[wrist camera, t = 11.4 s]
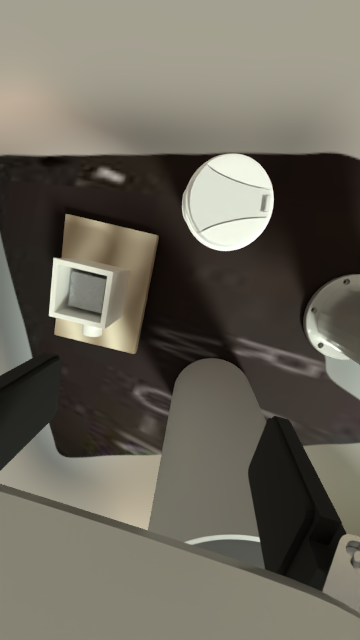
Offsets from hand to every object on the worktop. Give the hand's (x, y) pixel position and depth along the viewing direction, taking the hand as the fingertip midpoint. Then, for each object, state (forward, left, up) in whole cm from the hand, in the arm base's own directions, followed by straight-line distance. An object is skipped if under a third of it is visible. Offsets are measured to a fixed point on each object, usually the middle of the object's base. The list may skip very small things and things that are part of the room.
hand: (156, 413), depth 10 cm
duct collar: (+12, +2, -24) cm, 27 cm away
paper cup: (-2, -12, -26) cm, 29 cm away
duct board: (+12, 0, -26) cm, 29 cm away
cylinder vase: (-8, +13, -26) cm, 30 cm away
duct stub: (+12, 0, -25) cm, 27 cm away
